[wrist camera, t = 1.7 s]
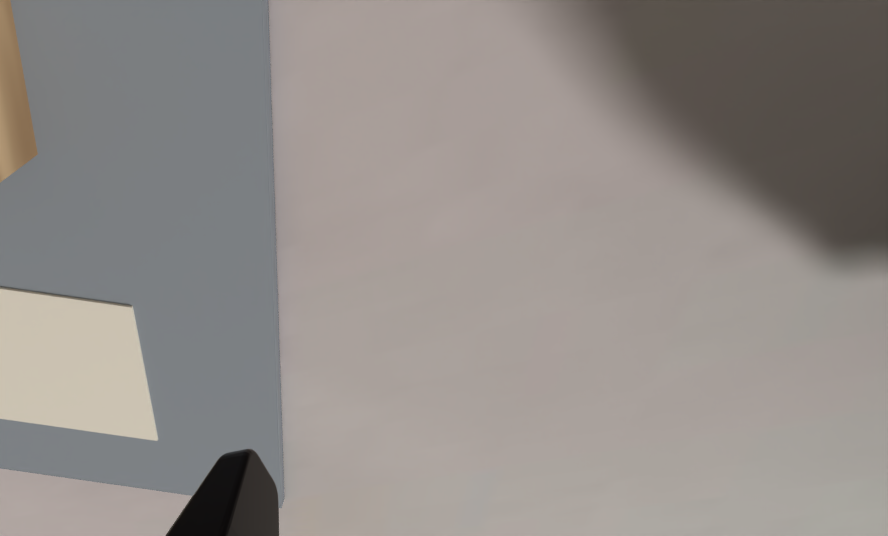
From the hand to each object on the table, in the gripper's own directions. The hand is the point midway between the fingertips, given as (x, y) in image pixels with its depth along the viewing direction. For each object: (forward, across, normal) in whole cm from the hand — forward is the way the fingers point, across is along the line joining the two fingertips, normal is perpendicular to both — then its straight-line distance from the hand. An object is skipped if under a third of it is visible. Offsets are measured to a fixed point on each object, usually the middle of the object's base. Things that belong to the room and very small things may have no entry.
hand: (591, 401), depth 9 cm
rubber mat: (+14, +14, +4) cm, 20 cm away
